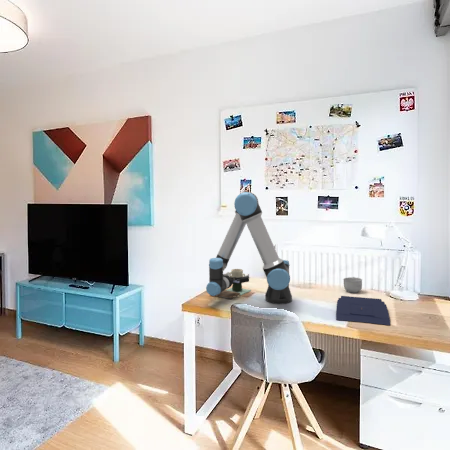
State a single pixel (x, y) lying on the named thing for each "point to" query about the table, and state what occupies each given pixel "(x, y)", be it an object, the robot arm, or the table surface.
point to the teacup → (352, 284)
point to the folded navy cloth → (362, 310)
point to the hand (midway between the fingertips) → (238, 275)
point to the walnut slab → (228, 294)
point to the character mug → (236, 274)
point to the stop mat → (240, 291)
